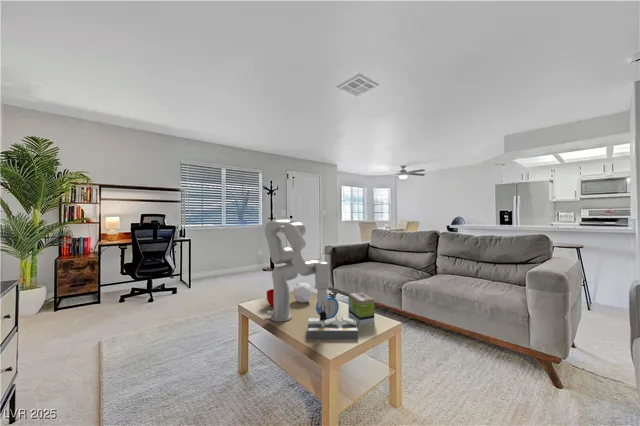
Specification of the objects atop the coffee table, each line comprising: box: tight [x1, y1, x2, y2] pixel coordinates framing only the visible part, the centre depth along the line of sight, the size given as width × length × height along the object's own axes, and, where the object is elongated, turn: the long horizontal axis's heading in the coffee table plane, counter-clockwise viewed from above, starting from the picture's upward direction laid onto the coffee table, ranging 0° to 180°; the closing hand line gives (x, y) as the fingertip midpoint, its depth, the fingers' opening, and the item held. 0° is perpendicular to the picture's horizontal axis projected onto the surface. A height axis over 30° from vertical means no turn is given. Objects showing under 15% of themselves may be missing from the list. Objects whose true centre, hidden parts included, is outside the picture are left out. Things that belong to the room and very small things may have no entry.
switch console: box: [306, 320, 359, 340], centre depth 148 cm, size 26×13×5 cm, turn 90°
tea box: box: [347, 292, 375, 327], centre depth 165 cm, size 15×10×15 cm
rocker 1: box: [307, 317, 323, 325], centre depth 149 cm, size 7×4×1 cm, turn 90°
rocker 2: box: [324, 315, 340, 325], centre depth 149 cm, size 7×4×1 cm, turn 90°
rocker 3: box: [341, 315, 357, 326], centre depth 149 cm, size 7×4×1 cm, turn 90°
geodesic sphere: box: [292, 281, 313, 304], centre depth 200 cm, size 15×14×14 cm
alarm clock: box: [315, 292, 340, 320], centre depth 169 cm, size 13×6×15 cm, turn 121°
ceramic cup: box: [266, 288, 274, 308], centre depth 193 cm, size 13×17×10 cm
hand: (323, 319), depth 149 cm, fingers closed
